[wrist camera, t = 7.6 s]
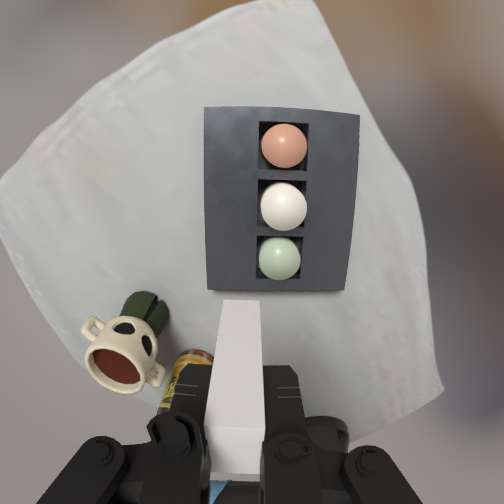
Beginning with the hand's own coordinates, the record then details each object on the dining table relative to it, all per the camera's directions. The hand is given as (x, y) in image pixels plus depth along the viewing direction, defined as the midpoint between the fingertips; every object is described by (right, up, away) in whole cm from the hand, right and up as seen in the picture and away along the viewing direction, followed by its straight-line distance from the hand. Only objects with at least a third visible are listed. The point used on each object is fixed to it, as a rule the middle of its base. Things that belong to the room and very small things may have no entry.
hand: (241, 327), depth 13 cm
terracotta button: (+4, +15, +18) cm, 23 cm away
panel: (+4, +9, +20) cm, 23 cm away
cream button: (+4, +9, +19) cm, 21 cm away
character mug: (-14, -4, +26) cm, 29 cm away
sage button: (+3, +4, +22) cm, 23 cm away
